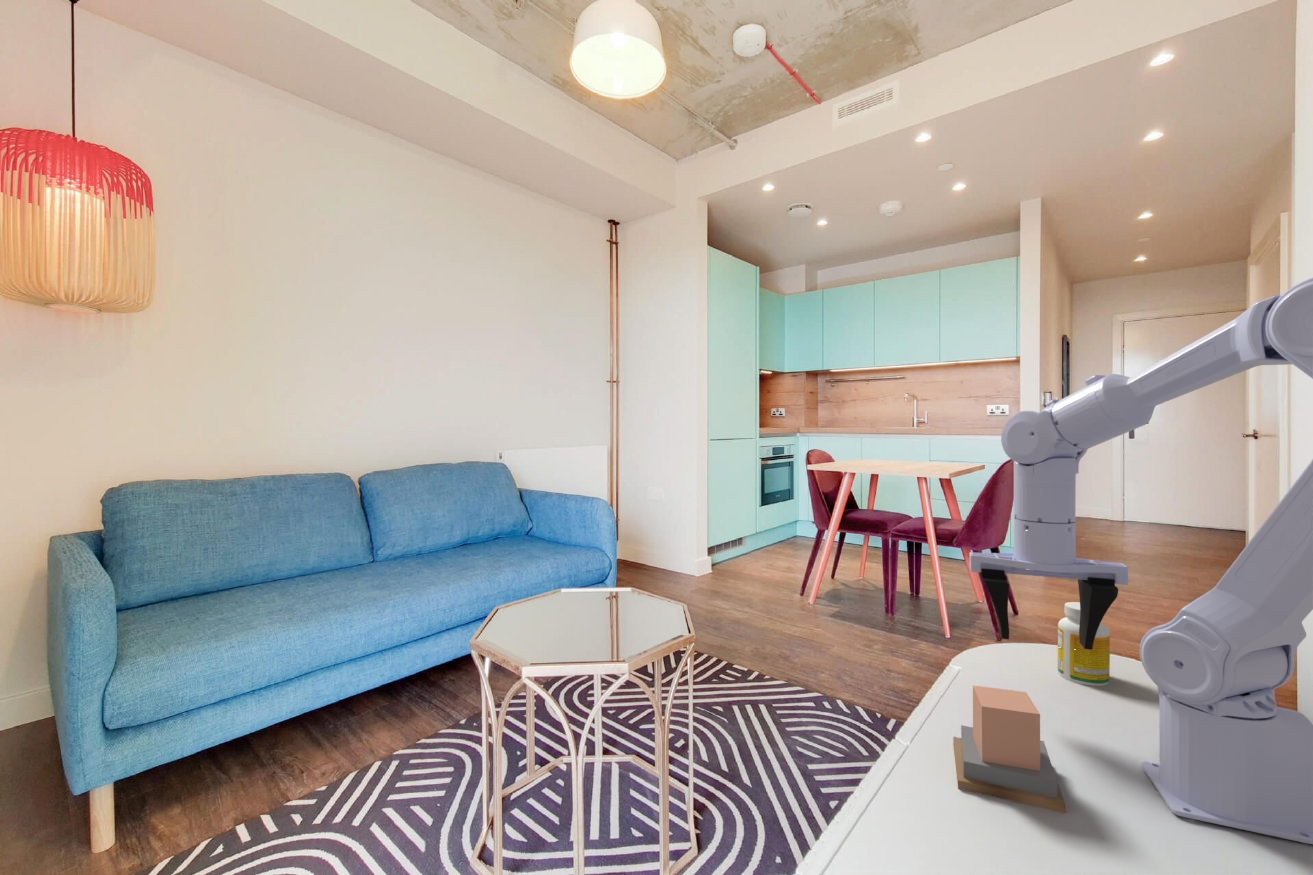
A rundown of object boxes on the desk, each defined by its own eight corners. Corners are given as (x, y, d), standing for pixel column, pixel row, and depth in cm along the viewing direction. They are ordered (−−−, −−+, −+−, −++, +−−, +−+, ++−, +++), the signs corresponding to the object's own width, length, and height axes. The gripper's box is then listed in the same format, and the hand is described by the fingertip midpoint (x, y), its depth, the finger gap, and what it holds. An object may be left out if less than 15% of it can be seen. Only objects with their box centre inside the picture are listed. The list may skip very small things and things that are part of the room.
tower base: (1046, 769, 55) (1046, 754, 55) (1065, 821, 48) (1065, 803, 48) (953, 751, 58) (953, 736, 58) (958, 796, 51) (958, 780, 51)
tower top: (1043, 756, 55) (1043, 740, 55) (1057, 798, 48) (1057, 781, 48) (961, 739, 58) (961, 724, 58) (963, 777, 51) (963, 761, 51)
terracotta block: (1026, 744, 54) (1026, 691, 54) (1040, 770, 50) (1040, 714, 50) (973, 736, 56) (972, 685, 56) (982, 761, 51) (981, 706, 51)
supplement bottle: (1047, 673, 75) (1047, 601, 75) (1080, 669, 77) (1080, 598, 77) (1086, 691, 70) (1086, 613, 70) (1121, 687, 71) (1120, 610, 71)
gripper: (1113, 518, 64) (1113, 638, 64) (967, 511, 70) (967, 621, 70) (1135, 528, 58) (1135, 661, 58) (972, 519, 64) (972, 640, 64)
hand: (1044, 641), depth 64 cm, fingers open, 7 cm apart
